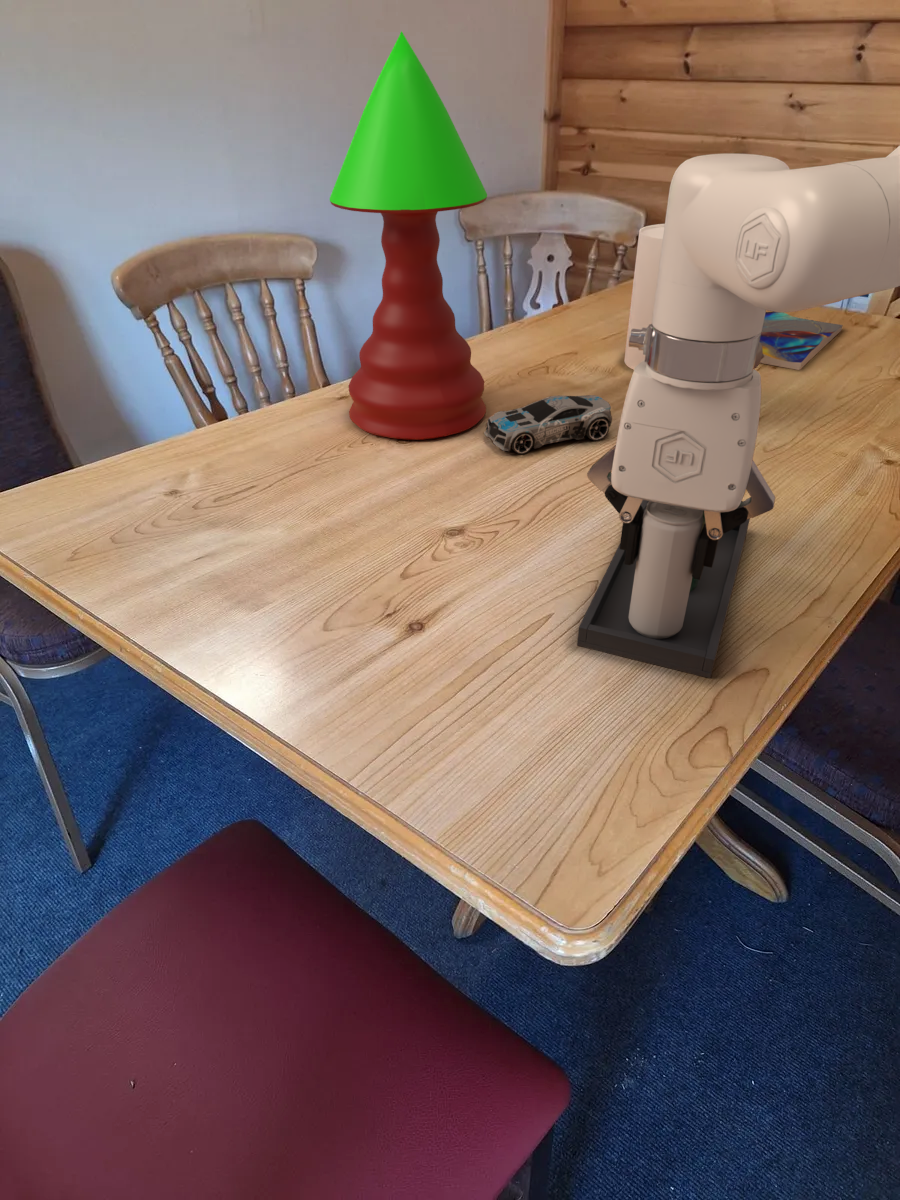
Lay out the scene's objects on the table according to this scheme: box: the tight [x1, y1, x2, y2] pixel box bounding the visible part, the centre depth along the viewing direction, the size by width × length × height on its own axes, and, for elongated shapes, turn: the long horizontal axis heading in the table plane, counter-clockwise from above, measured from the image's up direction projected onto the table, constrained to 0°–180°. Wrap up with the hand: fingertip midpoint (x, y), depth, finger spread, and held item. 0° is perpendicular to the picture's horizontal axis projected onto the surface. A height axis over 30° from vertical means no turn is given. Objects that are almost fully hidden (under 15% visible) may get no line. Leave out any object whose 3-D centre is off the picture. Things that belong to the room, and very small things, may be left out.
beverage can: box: [628, 501, 703, 639], centre depth 67 cm, size 5×5×12 cm
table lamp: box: [329, 30, 488, 441], centre depth 100 cm, size 20×20×45 cm
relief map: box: [759, 311, 844, 371], centre depth 136 cm, size 25×15×2 cm, turn 144°
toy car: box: [483, 394, 613, 455], centre depth 104 cm, size 7×17×5 cm, turn 111°
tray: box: [576, 500, 751, 679], centre depth 76 cm, size 12×26×2 cm, turn 156°
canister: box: [623, 223, 665, 371], centre depth 123 cm, size 14×14×20 cm
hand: (665, 562), depth 66 cm, fingers open, 5 cm apart
